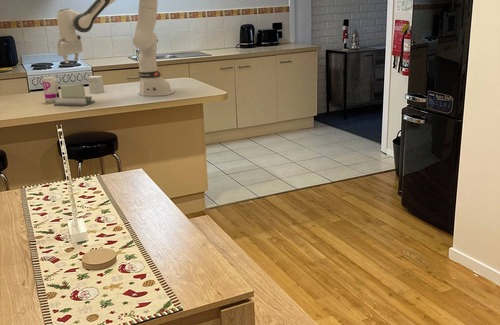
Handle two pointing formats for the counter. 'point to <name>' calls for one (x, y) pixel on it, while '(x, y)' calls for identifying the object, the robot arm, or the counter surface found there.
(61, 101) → the bottom track
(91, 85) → the small box
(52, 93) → the supplement can
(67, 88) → the door panel
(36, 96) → the counter surface
